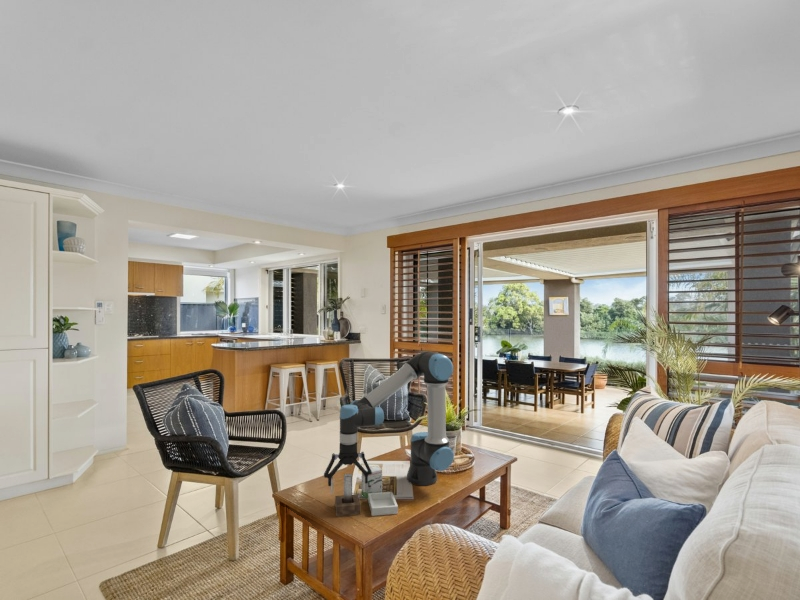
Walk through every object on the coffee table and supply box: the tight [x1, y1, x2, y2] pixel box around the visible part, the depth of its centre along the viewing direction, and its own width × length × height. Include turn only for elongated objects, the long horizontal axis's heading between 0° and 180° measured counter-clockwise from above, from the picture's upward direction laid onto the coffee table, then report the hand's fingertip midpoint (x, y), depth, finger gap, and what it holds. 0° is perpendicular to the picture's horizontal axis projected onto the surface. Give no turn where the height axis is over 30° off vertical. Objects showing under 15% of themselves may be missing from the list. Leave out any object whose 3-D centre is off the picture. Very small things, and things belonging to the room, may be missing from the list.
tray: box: [367, 491, 399, 517], centre depth 183 cm, size 11×14×3 cm
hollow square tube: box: [334, 493, 362, 517], centre depth 180 cm, size 10×10×4 cm
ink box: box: [361, 465, 383, 500], centre depth 195 cm, size 9×5×12 cm, turn 123°
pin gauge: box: [343, 473, 353, 503], centre depth 180 cm, size 4×4×14 cm
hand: (347, 492), depth 180 cm, fingers open, 13 cm apart
